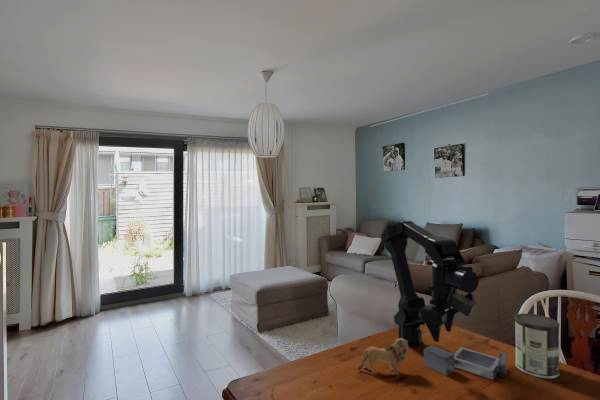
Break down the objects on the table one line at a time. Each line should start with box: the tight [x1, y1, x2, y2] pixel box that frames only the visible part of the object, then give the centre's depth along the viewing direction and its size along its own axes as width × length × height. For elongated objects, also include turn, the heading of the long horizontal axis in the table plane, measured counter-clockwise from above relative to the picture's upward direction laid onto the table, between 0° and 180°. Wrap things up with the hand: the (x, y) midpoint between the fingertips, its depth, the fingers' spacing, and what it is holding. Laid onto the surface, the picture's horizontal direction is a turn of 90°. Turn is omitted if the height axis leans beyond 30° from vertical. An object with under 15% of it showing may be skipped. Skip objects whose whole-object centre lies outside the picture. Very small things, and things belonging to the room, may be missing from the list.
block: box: [423, 344, 455, 377], centre depth 95 cm, size 7×4×5 cm, turn 34°
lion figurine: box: [357, 337, 410, 376], centre depth 94 cm, size 15×5×9 cm, turn 93°
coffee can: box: [514, 313, 560, 380], centre depth 94 cm, size 10×10×14 cm
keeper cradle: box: [453, 346, 507, 381], centre depth 95 cm, size 13×9×6 cm
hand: (442, 336), depth 97 cm, fingers open, 9 cm apart
